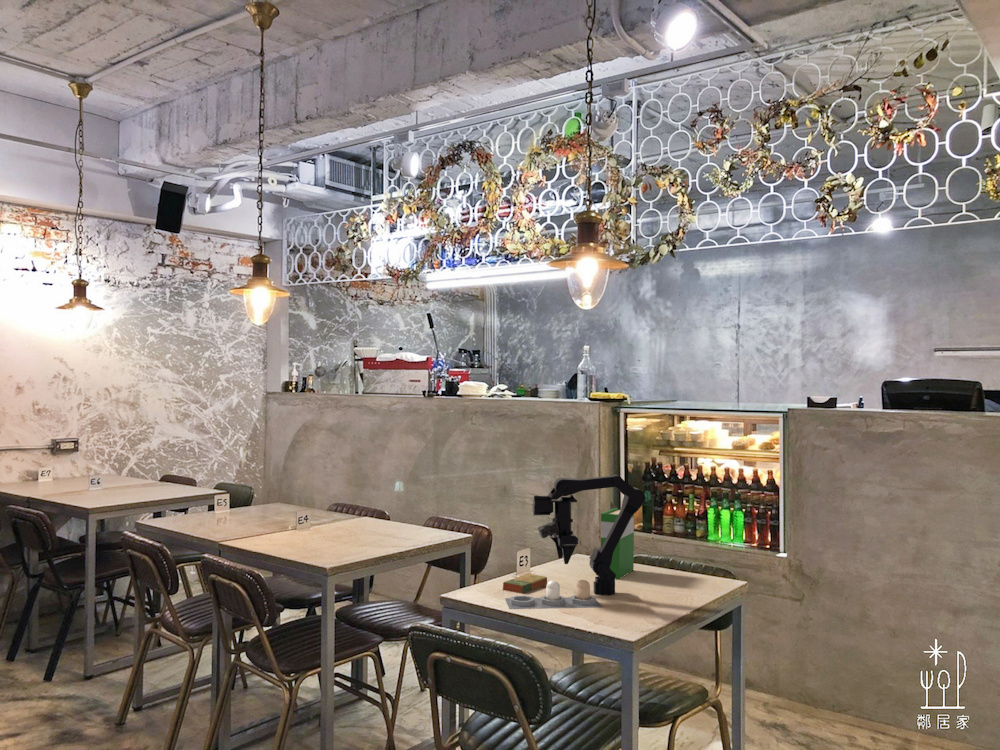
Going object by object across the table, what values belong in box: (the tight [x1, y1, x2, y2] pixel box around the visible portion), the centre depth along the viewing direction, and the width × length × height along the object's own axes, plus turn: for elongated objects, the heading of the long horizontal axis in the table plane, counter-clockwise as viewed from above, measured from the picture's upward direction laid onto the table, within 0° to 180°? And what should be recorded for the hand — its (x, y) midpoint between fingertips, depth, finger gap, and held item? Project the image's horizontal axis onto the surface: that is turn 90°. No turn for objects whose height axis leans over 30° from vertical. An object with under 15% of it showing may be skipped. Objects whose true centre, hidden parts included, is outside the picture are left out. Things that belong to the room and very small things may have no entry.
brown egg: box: [575, 579, 591, 600], centre depth 254 cm, size 4×4×7 cm
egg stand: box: [504, 594, 603, 610], centre depth 253 cm, size 30×13×2 cm, turn 96°
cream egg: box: [545, 579, 561, 600], centre depth 253 cm, size 4×4×7 cm
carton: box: [502, 573, 548, 594], centre depth 274 cm, size 8×16×4 cm, turn 144°
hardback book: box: [600, 507, 635, 580], centre depth 301 cm, size 18×7×24 cm, turn 153°
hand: (563, 561), depth 266 cm, fingers open, 9 cm apart
